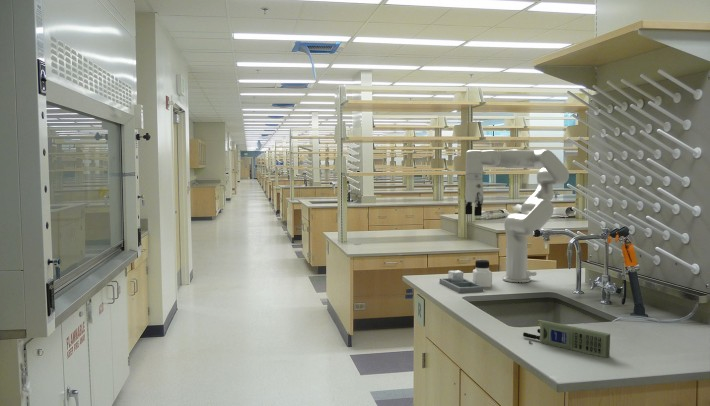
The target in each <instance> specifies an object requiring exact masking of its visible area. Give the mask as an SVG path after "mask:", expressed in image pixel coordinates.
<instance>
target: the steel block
mask: <svg viewBox="0 0 710 406" xmlns="http://www.w3.org/2000/svg"><path fill="white" fill-rule="evenodd" d="M447 278H448V282H450V283H457V282H463V278H464V271H461V270H459V269H457V270H448V277H447Z"/></svg>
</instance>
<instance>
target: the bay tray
mask: <svg viewBox="0 0 710 406" xmlns="http://www.w3.org/2000/svg"><path fill="white" fill-rule="evenodd" d="M439 284H440V285H442V286H444V287H447V288H448V289H450V290H452V291H455V292H457V293H458V294H466V293H480V292H481V293H482V292H484V287H483V286H481V285H478V284H476V283H474V282H473V281H471V280H469V279H466V278H464V277H463V282H457V283H450V282H448V277H447V278H445V277H444V278H439Z"/></svg>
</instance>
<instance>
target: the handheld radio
mask: <svg viewBox="0 0 710 406" xmlns="http://www.w3.org/2000/svg"><path fill="white" fill-rule="evenodd" d="M537 322H539V323H537V326H538V327H539V328H537V330H536V331H537V333H538V334H539V335H536V334H533V333H529V332H523V334H522V336H523V337H525V338H529V339H533V340H538V341H539V343H540V344H543V345H549V346H552V347H553V346H554V347H557V348H561V349H565V350H570V351H574V352H579V353H582V354H583V353H584V354H587V355H592V356H596V357H599V358H604V359H608V358H610V353H611V351H610V349H611V348H610V347H611V333H607V332H602V331H597V330H592V329H587V328H582V327H578V326H573V325H568V324H563V323H558V322H553V321H548V320H543V319H542V320H541V319H538V320H537Z"/></svg>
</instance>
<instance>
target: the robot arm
mask: <svg viewBox="0 0 710 406" xmlns="http://www.w3.org/2000/svg"><path fill="white" fill-rule="evenodd" d="M484 167H485V168H505V169H506V168H507V169H511V168H512V169H514V168H515V169H517V168H518V169H538V171H537V173H536V181H537V182H536V183H537V184H536V185H537V186H536V189H535V191H534V192H533V193H532V194H531V195H530V196H529V197H528V198H527V199H526V201H524V202H523V203H522V204H521V207H520V213H511V214H509V215H507V217H506V218H505V220H504V223H503V225H504V226H503V227H504V231H505V237H506V238H505V239H506V240H505V241H506V242H505V244H506V249H505V250H506V251H505V252H506V253H505V256H506V257H505V262H506V264H505V267H506V268H505V275H504V276H502V280H503V281H504V282H509V283H510V282H511V283H518V282H519V283H521V282H522V283H528V282H531V276H532V277H535V276H537V271H529V270H528V239H527V236H528V237H529V236H534V235H533V231H534V230H536V229H540V230H541V229H542V228H543V227H544V226H545V225H546V224H547V223H548V222H549V220H550V219H552V216H553V214H554V211H555V209H554V208H555V207H554V204H553V203H552V199H553V197H554V187H553V185H556V186H557V185H559V186H560V185H564V184H566V183H567V182H568V181H569V178H570V173H569V170H568V168H567V167H566V165H565V164H564V163H563V162H562V161H561V159H559V158H558V156H557V155H556V154H555V153H554V152H553V151H551V150H549V149H507V150H506V149H505V150H495V149H484V150H479V149H469V150H467V151H465V176H464V177H465V190H464V191H465V193H464V205H465V213H464V214H465V215H473V213H474V217H477V216H478V217H482V213H483V209H482V208H483V204H484V203H483V202H484V183H483V168H484ZM473 203H474V212H473ZM522 283H521V284H522Z"/></svg>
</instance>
